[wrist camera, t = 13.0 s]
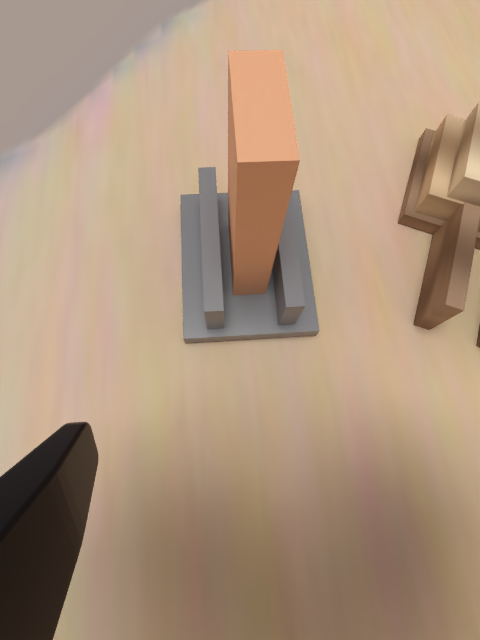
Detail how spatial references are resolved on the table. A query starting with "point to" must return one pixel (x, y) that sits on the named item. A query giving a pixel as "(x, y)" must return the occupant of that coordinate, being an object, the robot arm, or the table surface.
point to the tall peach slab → (258, 164)
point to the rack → (446, 213)
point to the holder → (216, 279)
